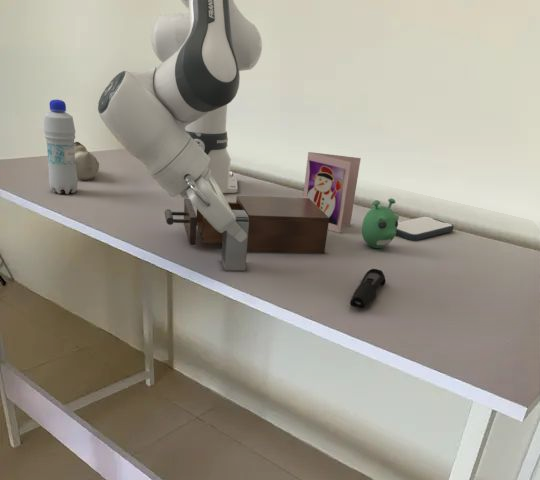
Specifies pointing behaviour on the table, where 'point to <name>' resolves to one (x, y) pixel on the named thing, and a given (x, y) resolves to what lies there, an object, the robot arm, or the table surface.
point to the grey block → (235, 245)
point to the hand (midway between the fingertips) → (239, 230)
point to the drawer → (197, 223)
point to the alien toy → (380, 225)
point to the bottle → (60, 148)
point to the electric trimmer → (367, 288)
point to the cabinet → (284, 224)
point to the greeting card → (332, 186)
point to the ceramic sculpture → (85, 162)
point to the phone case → (422, 228)
